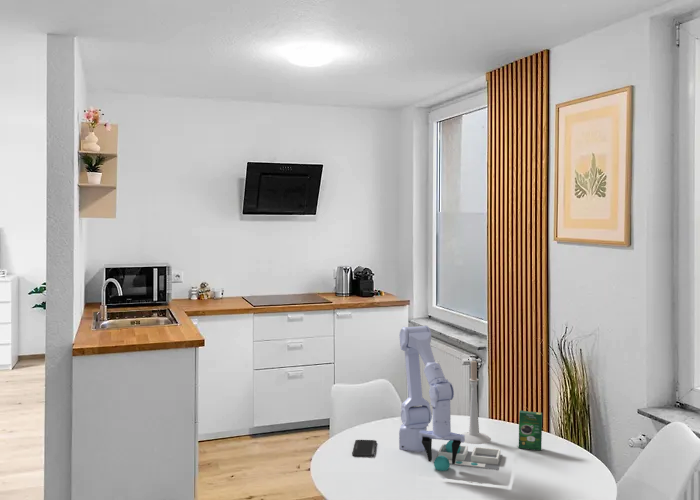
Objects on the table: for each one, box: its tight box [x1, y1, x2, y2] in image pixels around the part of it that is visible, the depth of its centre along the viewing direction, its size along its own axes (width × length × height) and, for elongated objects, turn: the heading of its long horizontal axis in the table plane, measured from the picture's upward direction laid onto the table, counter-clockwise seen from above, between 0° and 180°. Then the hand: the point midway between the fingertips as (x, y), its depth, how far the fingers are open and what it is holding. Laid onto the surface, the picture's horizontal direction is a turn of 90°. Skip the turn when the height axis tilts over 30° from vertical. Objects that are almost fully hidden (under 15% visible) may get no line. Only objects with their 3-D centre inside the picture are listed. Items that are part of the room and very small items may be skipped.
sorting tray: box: [435, 443, 503, 471], centre depth 210 cm, size 21×14×3 cm, turn 71°
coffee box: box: [518, 410, 543, 452], centre depth 222 cm, size 8×3×13 cm, turn 71°
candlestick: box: [461, 360, 492, 445], centre depth 230 cm, size 13×13×30 cm
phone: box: [351, 439, 378, 458], centre depth 223 cm, size 8×1×15 cm
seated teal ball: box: [445, 440, 461, 454], centre depth 214 cm, size 5×5×5 cm
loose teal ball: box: [433, 455, 451, 472], centre depth 202 cm, size 5×5×5 cm
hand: (441, 461), depth 202 cm, fingers open, 7 cm apart
